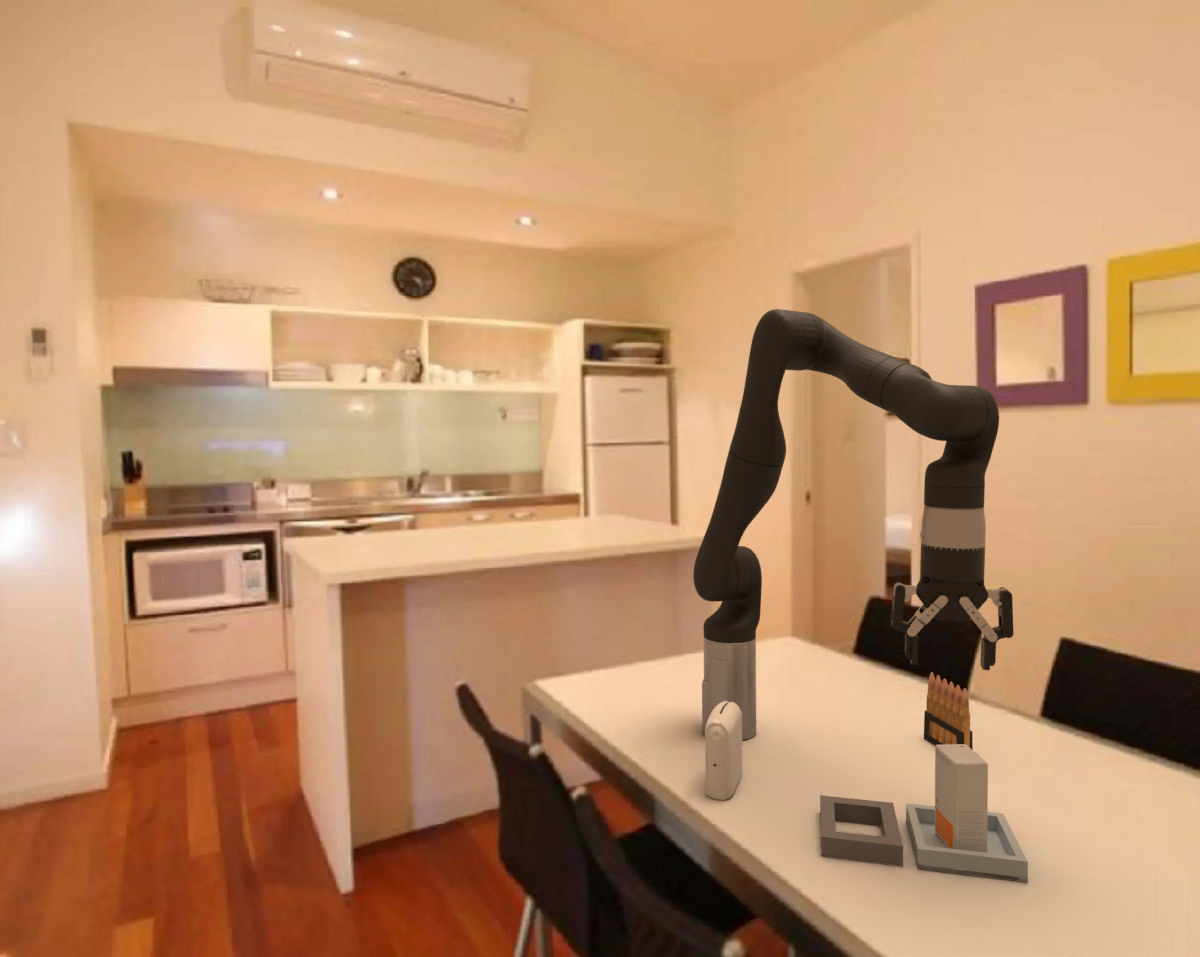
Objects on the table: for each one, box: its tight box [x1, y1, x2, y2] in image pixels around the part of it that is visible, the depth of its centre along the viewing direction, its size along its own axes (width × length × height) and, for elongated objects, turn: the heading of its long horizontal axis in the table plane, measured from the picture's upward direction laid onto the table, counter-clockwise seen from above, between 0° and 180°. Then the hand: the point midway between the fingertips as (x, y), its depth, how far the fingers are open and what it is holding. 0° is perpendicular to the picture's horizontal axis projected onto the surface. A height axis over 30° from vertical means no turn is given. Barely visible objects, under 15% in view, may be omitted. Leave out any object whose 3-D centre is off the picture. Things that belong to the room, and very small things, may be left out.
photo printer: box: [704, 701, 743, 801], centre depth 117 cm, size 10×4×12 cm, turn 158°
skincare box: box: [934, 744, 989, 853], centre depth 98 cm, size 6×4×12 cm
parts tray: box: [905, 803, 1029, 883], centre depth 98 cm, size 12×12×2 cm
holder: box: [819, 794, 904, 867], centre depth 101 cm, size 10×12×2 cm
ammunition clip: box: [923, 671, 974, 751], centre depth 128 cm, size 11×2×12 cm, turn 10°
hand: (949, 665), depth 100 cm, fingers open, 8 cm apart
